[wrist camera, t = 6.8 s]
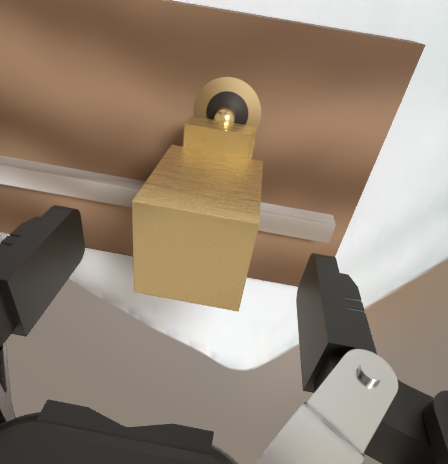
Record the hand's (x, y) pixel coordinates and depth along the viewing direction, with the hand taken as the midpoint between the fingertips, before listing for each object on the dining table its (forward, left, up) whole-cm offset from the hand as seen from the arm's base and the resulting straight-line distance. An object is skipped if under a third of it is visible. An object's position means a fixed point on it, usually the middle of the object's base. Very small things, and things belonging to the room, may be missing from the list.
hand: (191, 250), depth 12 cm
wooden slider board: (0, -5, -9) cm, 10 cm away
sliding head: (0, 0, -7) cm, 7 cm away
